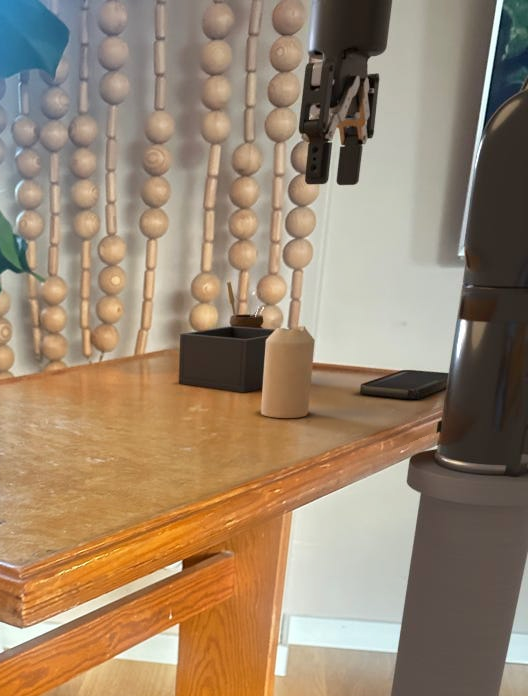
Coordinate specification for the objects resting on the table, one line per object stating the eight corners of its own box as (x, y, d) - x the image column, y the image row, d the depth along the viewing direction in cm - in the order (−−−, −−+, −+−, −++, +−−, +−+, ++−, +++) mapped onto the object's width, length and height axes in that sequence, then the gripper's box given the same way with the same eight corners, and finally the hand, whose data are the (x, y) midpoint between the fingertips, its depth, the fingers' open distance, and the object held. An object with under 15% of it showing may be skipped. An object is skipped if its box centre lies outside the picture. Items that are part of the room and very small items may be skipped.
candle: (299, 408, 113) (307, 323, 109) (314, 417, 108) (322, 328, 104) (255, 410, 113) (261, 324, 109) (268, 419, 108) (274, 330, 104)
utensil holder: (257, 365, 144) (262, 283, 139) (218, 363, 147) (222, 283, 142) (267, 360, 149) (273, 280, 144) (229, 358, 152) (233, 280, 147)
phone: (357, 385, 120) (404, 369, 129) (356, 394, 120) (403, 377, 130) (417, 390, 115) (461, 373, 125) (416, 400, 115) (460, 382, 125)
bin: (294, 381, 130) (298, 331, 128) (244, 392, 124) (247, 340, 121) (229, 373, 138) (231, 325, 136) (178, 383, 132) (179, 333, 129)
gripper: (364, -19, 82) (341, 183, 89) (414, 4, 92) (390, 184, 99) (285, -8, 86) (269, 185, 93) (341, 13, 96) (323, 185, 103)
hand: (332, 184), depth 96 cm, fingers open, 8 cm apart
